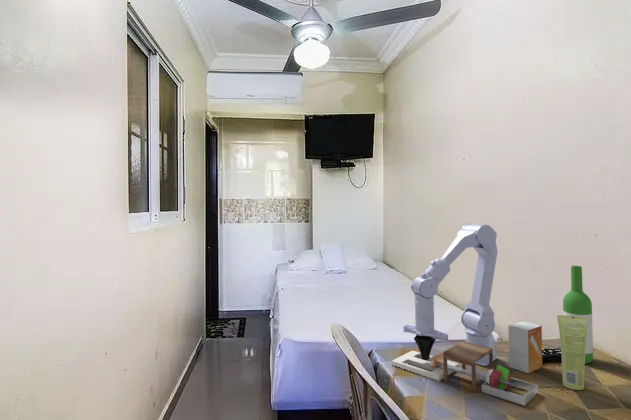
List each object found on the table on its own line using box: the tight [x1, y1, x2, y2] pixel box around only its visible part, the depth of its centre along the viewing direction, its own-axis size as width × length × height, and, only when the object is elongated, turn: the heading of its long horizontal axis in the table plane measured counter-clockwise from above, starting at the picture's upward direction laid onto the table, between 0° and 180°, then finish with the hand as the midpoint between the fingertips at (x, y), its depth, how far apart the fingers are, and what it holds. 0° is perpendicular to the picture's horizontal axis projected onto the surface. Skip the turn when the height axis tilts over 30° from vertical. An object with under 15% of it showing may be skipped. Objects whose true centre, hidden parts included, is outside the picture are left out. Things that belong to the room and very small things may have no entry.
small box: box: [507, 320, 543, 374], centre depth 122 cm, size 8×6×13 cm
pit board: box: [391, 350, 460, 382], centre depth 124 cm, size 12×16×2 cm
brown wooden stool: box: [442, 340, 494, 394], centre depth 114 cm, size 12×9×9 cm
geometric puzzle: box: [484, 364, 515, 392], centre depth 107 cm, size 7×7×8 cm
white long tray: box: [431, 352, 539, 406], centre depth 111 cm, size 10×27×4 cm, turn 44°
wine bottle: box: [562, 265, 594, 365], centre depth 126 cm, size 8×8×30 cm
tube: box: [556, 314, 588, 391], centre depth 108 cm, size 6×5×20 cm
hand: (425, 359), depth 124 cm, fingers closed
